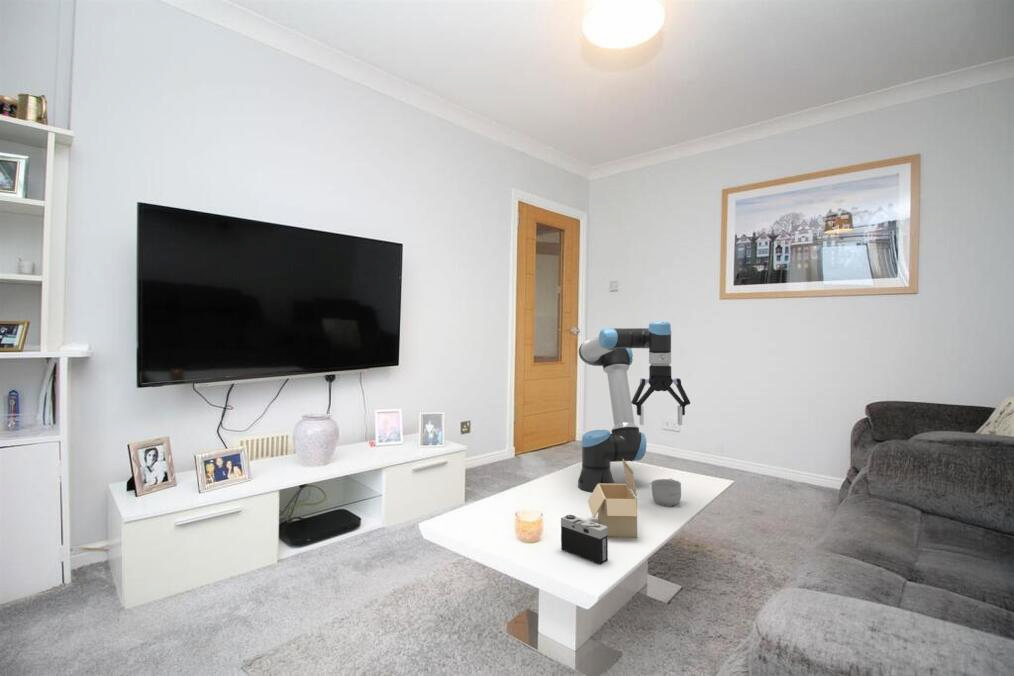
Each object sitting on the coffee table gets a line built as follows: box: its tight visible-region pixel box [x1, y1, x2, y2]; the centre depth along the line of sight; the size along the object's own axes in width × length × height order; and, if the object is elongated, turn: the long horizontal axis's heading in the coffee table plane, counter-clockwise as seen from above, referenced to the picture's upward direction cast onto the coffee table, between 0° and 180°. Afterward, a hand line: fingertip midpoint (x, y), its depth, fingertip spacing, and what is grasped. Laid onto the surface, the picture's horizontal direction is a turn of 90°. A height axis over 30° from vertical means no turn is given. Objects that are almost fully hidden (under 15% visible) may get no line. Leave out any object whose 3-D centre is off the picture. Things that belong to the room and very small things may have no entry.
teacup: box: [650, 477, 682, 506], centre depth 185 cm, size 14×11×8 cm
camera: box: [560, 514, 609, 565], centre depth 142 cm, size 14×8×10 cm, turn 45°
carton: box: [587, 483, 639, 539], centre depth 160 cm, size 14×21×12 cm, turn 177°
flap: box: [621, 459, 638, 497], centre depth 160 cm, size 1×16×8 cm, turn 177°
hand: (660, 424), depth 173 cm, fingers open, 13 cm apart
